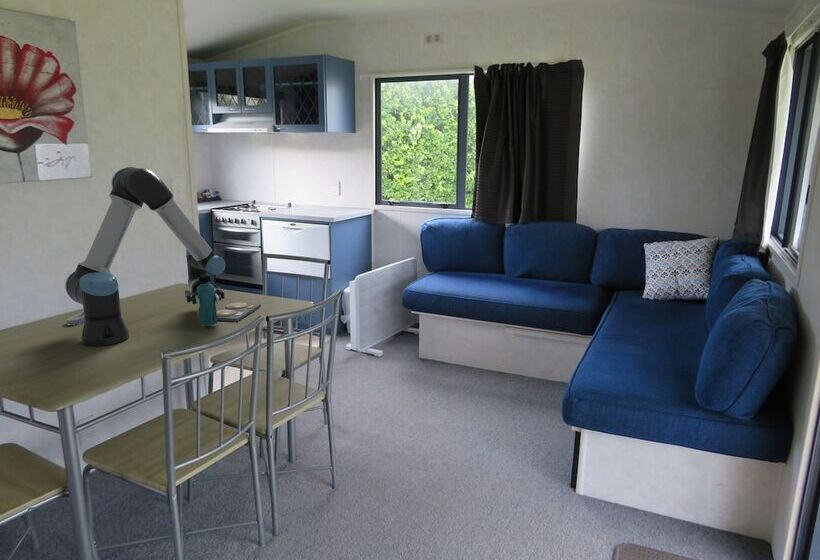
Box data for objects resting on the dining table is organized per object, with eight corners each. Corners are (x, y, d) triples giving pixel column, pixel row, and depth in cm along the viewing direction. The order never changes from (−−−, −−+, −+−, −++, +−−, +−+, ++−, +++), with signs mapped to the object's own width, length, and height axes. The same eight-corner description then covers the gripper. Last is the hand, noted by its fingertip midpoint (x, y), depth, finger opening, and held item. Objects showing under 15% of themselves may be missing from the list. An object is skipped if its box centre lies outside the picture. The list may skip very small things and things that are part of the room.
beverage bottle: (214, 329, 224) (210, 277, 219) (197, 329, 224) (192, 277, 219) (220, 324, 230) (216, 273, 226) (203, 324, 230) (199, 273, 226)
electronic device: (59, 302, 227) (89, 291, 241) (63, 326, 230) (92, 314, 244) (71, 303, 226) (100, 292, 240) (75, 327, 228) (103, 315, 242)
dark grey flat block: (238, 321, 234) (237, 317, 233) (204, 319, 236) (204, 316, 235) (261, 306, 255) (260, 302, 254) (230, 305, 257) (230, 301, 257)
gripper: (226, 294, 245) (235, 308, 225) (176, 300, 237) (181, 315, 217) (225, 277, 244) (234, 289, 223) (174, 281, 236) (179, 295, 215)
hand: (208, 302), depth 220 cm, fingers closed on beverage bottle, 6 cm apart
